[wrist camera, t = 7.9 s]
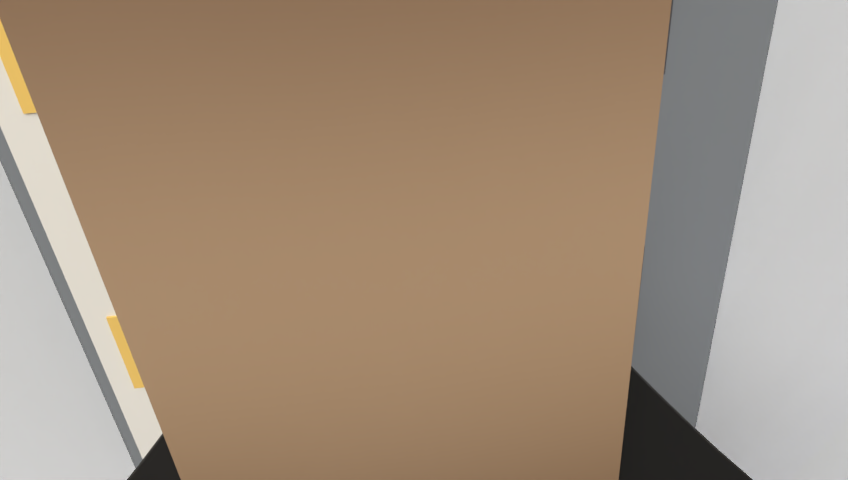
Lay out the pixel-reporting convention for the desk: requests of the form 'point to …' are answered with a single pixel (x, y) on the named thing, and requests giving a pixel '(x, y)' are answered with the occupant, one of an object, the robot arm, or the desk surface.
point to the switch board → (665, 234)
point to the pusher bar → (363, 222)
